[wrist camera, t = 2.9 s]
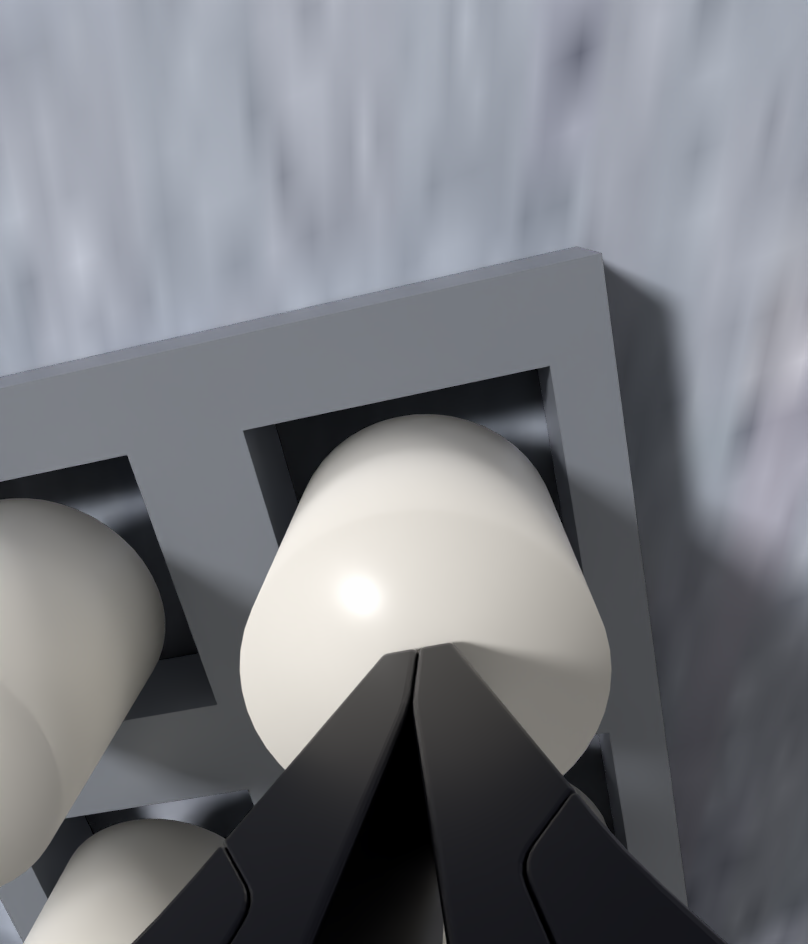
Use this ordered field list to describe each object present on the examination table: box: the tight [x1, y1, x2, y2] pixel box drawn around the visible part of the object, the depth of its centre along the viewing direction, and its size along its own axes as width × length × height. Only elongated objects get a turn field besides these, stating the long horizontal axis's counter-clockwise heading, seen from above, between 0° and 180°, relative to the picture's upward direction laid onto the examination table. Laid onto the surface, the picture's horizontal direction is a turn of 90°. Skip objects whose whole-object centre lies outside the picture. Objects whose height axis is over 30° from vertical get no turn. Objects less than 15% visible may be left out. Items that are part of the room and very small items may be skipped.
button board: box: [0, 247, 688, 943], centre depth 16 cm, size 14×20×2 cm
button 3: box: [240, 414, 612, 775], centre depth 11 cm, size 4×4×4 cm
